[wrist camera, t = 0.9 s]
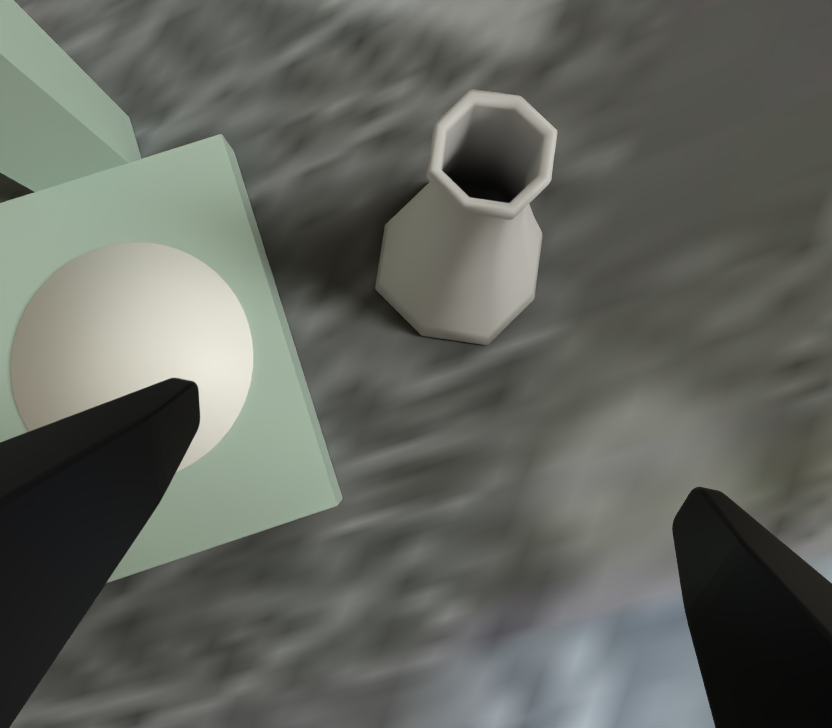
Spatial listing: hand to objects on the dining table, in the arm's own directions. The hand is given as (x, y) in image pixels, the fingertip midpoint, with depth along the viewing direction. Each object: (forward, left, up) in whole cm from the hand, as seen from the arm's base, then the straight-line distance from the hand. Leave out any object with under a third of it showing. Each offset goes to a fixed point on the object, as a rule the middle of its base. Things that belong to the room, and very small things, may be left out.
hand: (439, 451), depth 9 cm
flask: (+7, 0, -13) cm, 15 cm away
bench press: (+4, +14, -13) cm, 20 cm away
